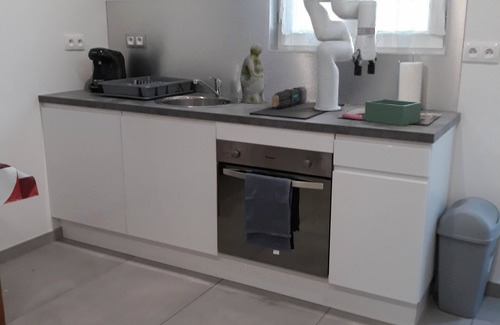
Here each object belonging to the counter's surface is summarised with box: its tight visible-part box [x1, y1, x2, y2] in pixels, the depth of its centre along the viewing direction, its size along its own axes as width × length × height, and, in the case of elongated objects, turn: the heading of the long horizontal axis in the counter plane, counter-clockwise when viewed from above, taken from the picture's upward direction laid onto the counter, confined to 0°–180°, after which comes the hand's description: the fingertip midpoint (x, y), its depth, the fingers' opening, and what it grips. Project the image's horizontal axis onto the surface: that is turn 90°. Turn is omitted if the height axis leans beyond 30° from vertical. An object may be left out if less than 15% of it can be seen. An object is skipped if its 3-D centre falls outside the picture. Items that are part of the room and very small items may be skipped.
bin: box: [364, 98, 422, 127], centre depth 215 cm, size 18×14×8 cm
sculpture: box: [239, 42, 266, 105], centre depth 271 cm, size 11×14×30 cm
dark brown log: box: [271, 86, 308, 109], centre depth 258 cm, size 11×7×30 cm
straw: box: [341, 112, 363, 121], centre depth 222 cm, size 10×2×2 cm, turn 44°
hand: (364, 74), depth 217 cm, fingers open, 9 cm apart
